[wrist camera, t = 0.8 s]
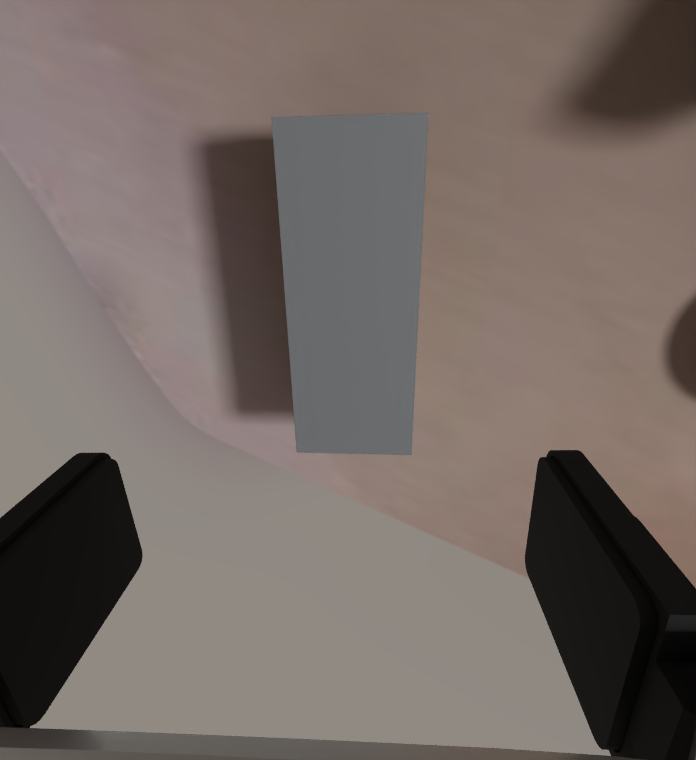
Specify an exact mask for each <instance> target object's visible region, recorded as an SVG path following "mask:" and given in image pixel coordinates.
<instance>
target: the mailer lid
mask: <svg viewBox="0 0 696 760" xmlns="http://www.w3.org/2000/svg"><path fill="white" fill-rule="evenodd" d="M271 118H272V132H273V145H274V158H275V171H276V185H277V198H278V211H279V225H280V238H281V251H282V264H283V278H284V291H285V304H286V317H287V331H288V344H289V357H290V370H291V384H292V397H293V410H294V423H295V437H296V450H297V452H304V453H347V454H391V455H411V452H412V432H413V412H414V391H415V371H416V351H417V331H418V311H419V291H420V271H421V251H422V231H423V211H424V191H425V171H426V151H427V131H428V113H404V114H369V115H334V116H298V117H271Z"/></svg>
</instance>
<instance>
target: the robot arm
mask: <svg viewBox="0 0 696 760" xmlns="http://www.w3.org/2000/svg"><path fill="white" fill-rule="evenodd" d="M141 562H142V549H141V546H140V542H139V538H138V535H137V531H136V528H135V524H134V520H133V517H132V513H131V509H130V506H129V502H128V499H127V495H126V492H125V488H124V484H123V481H122V477H121V474H120V470H119V466H118V464H117V462H116V461H115V460H113V459H111V457H110V456H109V455H108V454H106V453H79V454H76V455H75V456H74V457H72V458H71V459H70V460H69V461H67V462H66V463H65V464H64V465H63V466H62V467H60V468H59V469H58V470H57V471H56V472H54V473H53V474H52V475H51V476H50V477H49V478H47V479H46V480H45V481H44V482H43V483H41V484H40V485H39V486H38V487H37V488H36V489H34V490H33V491H32V492H31V493H30V494H28V495H27V496H26V497H25V498H24V499H23V500H21V501H20V502H19V503H18V504H16V505H15V506H14V507H13V508H12V509H11V510H9V511H8V512H7V513H6V514H5V515H4V516H2V517H1V518H0V760H696V589H695V587H694V586H693V585H692V584H691V583H690V581H689V580H688V579H687V578H686V576H685V575H684V574H683V573H682V572H681V570H680V569H679V568H678V567H677V565H676V564H675V563H674V562H673V561H672V559H671V558H670V557H669V556H668V555H667V553H666V552H665V551H664V550H663V548H662V547H661V546H660V545H659V544H658V542H657V541H656V540H655V539H654V538H653V536H652V535H651V534H650V533H649V531H648V530H647V529H646V528H645V527H644V525H643V524H642V523H641V522H640V521H639V520H638V519H637V518H636V517H635V516H633V515H632V513H631V512H630V511H629V510H628V508H627V507H626V506H625V505H624V504H623V502H622V501H621V500H620V499H619V497H618V496H617V495H616V494H615V493H614V491H613V490H612V489H611V488H610V486H609V485H608V484H607V483H606V481H605V480H604V479H603V478H602V477H601V475H600V474H599V473H598V472H597V470H596V469H595V468H594V467H593V466H592V464H591V463H590V462H589V461H588V459H587V458H586V457H585V456H584V454H583V453H582V452H580V451H578V450H551V451H549V452H548V454H547V457H541V458H540V459H539V461H538V466H537V473H536V481H535V488H534V495H533V502H532V510H531V517H530V524H529V531H528V539H527V546H526V553H525V564H526V570H527V573H528V576H529V578H530V581H531V583H532V586H533V588H534V591H535V593H536V596H537V598H538V601H539V603H540V605H541V608H542V611H543V613H544V615H545V618H546V620H547V623H548V625H549V628H550V630H551V633H552V635H553V638H554V640H555V643H556V645H557V647H558V650H559V653H560V655H561V657H562V660H563V662H564V665H565V667H566V670H567V672H568V675H569V677H570V680H571V682H572V685H573V687H574V690H575V692H576V694H577V697H578V699H579V702H580V705H581V707H582V709H583V712H584V714H585V717H586V719H587V722H588V724H589V727H590V729H591V732H592V734H593V736H594V739H595V741H596V743H597V744H598V746H599V747H600V748H601V749H607V750H609V751H610V754H611V756H602V755H588V754H573V753H572V754H571V753H558V752H557V753H556V752H543V751H529V750H514V749H499V748H478V747H458V746H437V745H417V744H395V743H375V742H355V741H334V740H310V739H288V738H264V737H242V736H218V735H194V734H193V735H192V734H169V733H145V732H121V731H120V732H118V731H91V730H64V729H37V728H30V726H31V725H34V724H36V723H37V722H38V721H39V720H40V719H41V718H42V717H43V715H44V714H45V713H46V711H47V710H48V708H49V706H50V705H51V703H52V702H53V700H54V699H55V697H56V696H57V694H58V693H59V691H60V689H61V688H62V686H63V685H64V683H65V681H66V680H67V679H68V677H69V676H70V674H71V673H72V671H73V669H74V668H75V666H76V665H77V663H78V662H79V660H80V658H81V657H82V656H83V654H84V652H85V651H86V649H87V648H88V646H89V645H90V643H91V641H92V640H93V639H94V637H95V635H96V634H97V632H98V631H99V629H100V628H101V626H102V624H103V623H104V621H105V620H106V618H107V617H108V615H109V614H110V612H111V611H112V609H113V608H114V606H115V604H116V603H117V601H118V600H119V598H120V597H121V595H122V594H123V592H124V591H125V589H126V588H127V586H128V584H129V583H130V581H131V580H132V578H133V577H134V575H135V574H136V572H137V570H138V569H139V567H140V564H141Z"/></svg>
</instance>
